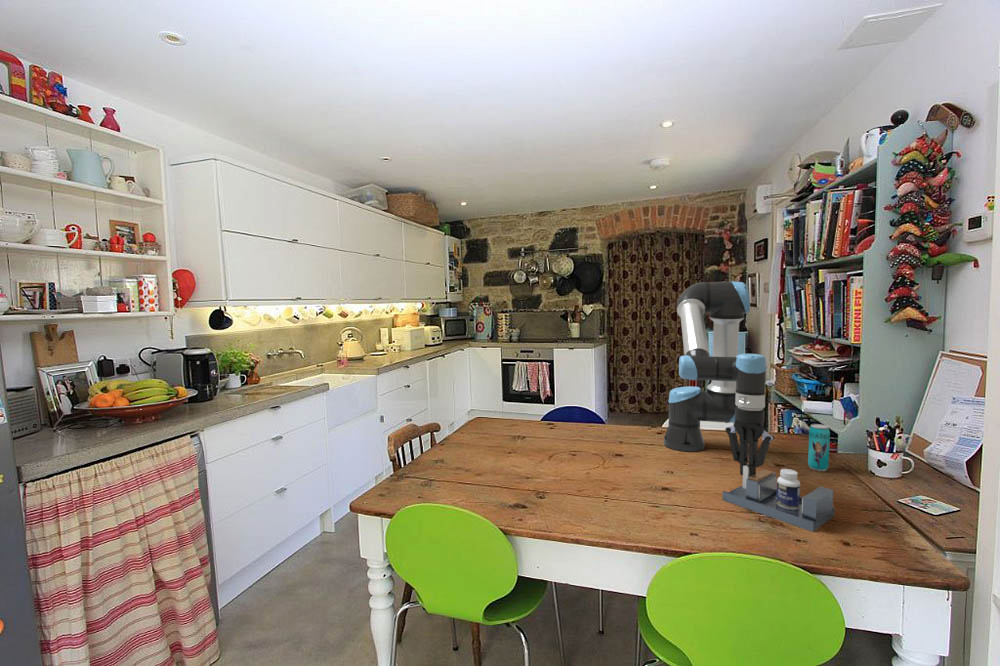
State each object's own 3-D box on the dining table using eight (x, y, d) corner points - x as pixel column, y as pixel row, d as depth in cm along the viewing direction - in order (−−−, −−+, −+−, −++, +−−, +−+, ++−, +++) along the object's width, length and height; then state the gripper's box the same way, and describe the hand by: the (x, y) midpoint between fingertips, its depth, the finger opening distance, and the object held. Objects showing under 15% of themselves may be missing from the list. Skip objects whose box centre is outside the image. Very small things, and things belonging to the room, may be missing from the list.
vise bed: (722, 500, 133) (723, 474, 132) (746, 488, 141) (747, 464, 140) (812, 531, 114) (814, 502, 114) (834, 515, 122) (835, 488, 122)
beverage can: (809, 470, 154) (810, 427, 153) (806, 465, 160) (808, 422, 158) (829, 473, 152) (831, 429, 151) (826, 467, 157) (828, 424, 156)
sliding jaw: (745, 499, 129) (746, 477, 128) (764, 490, 135) (764, 468, 135) (758, 504, 126) (759, 480, 125) (776, 493, 132) (777, 471, 132)
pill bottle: (774, 506, 125) (775, 471, 124) (777, 499, 129) (778, 466, 128) (797, 512, 121) (799, 476, 121) (800, 505, 125) (801, 470, 125)
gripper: (720, 405, 135) (718, 483, 137) (767, 414, 124) (764, 498, 126) (733, 402, 139) (731, 477, 141) (780, 410, 129) (777, 491, 130)
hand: (747, 487), depth 133 cm, fingers closed
